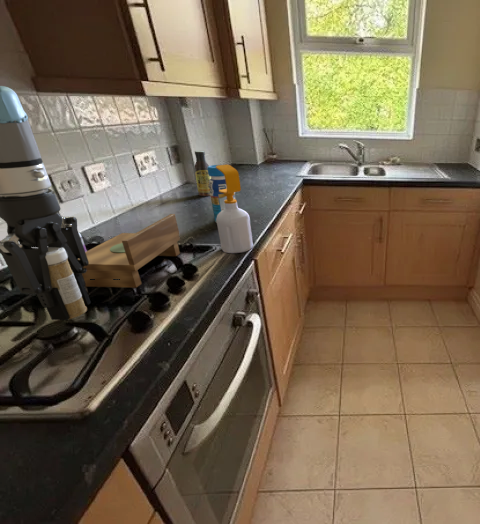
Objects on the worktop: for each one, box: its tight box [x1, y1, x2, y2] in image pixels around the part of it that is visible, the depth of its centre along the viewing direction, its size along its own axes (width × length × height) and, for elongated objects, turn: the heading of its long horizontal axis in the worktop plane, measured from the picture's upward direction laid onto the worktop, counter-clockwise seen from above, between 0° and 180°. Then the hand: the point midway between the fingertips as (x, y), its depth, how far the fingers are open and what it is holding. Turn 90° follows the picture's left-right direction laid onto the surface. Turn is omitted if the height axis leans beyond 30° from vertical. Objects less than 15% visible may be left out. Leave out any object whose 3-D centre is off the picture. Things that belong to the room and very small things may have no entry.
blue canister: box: [207, 164, 236, 224], centre depth 119 cm, size 8×8×20 cm
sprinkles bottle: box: [45, 247, 88, 320], centre depth 61 cm, size 5×5×14 cm
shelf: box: [78, 213, 181, 289], centre depth 85 cm, size 16×20×12 cm
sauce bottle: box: [194, 150, 211, 197], centre depth 152 cm, size 6×6×20 cm
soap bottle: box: [216, 164, 254, 254], centre depth 96 cm, size 9×9×25 cm
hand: (72, 310), depth 64 cm, fingers closed on sprinkles bottle, 4 cm apart
